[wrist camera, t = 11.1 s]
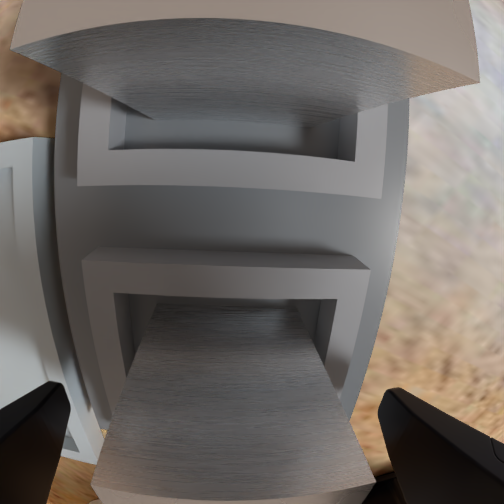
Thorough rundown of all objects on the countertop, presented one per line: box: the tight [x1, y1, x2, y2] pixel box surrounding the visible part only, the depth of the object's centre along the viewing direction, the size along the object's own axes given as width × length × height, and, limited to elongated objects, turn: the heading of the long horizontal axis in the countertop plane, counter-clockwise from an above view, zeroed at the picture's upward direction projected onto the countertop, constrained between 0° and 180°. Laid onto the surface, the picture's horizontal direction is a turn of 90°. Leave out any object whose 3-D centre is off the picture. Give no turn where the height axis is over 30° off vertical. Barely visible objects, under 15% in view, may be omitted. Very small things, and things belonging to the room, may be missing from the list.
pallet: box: [54, 73, 409, 430], centre depth 7 cm, size 20×10×3 cm, turn 177°
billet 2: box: [90, 303, 376, 504], centre depth 7 cm, size 4×4×6 cm
